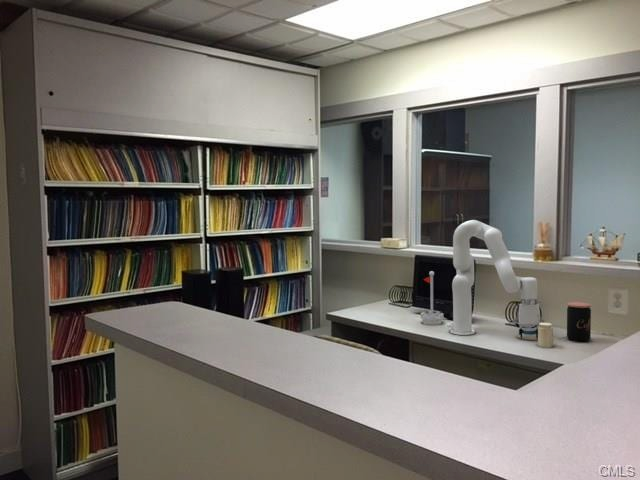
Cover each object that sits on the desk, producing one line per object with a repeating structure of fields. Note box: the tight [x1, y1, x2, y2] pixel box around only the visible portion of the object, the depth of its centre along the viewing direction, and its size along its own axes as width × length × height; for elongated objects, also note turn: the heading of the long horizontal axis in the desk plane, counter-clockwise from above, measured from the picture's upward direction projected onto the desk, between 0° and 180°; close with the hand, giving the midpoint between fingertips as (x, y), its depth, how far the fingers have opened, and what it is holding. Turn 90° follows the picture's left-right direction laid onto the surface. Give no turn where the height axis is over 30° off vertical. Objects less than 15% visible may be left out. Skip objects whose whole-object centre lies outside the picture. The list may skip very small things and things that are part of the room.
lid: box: [522, 327, 537, 335], centre depth 272 cm, size 7×7×2 cm
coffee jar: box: [566, 301, 592, 343], centre depth 266 cm, size 11×11×18 cm
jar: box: [537, 322, 554, 348], centre depth 257 cm, size 7×7×11 cm
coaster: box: [516, 333, 538, 342], centre depth 272 cm, size 11×11×1 cm
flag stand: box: [420, 270, 445, 326], centre depth 309 cm, size 13×13×30 cm
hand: (529, 336), depth 272 cm, fingers closed on lid, 6 cm apart
